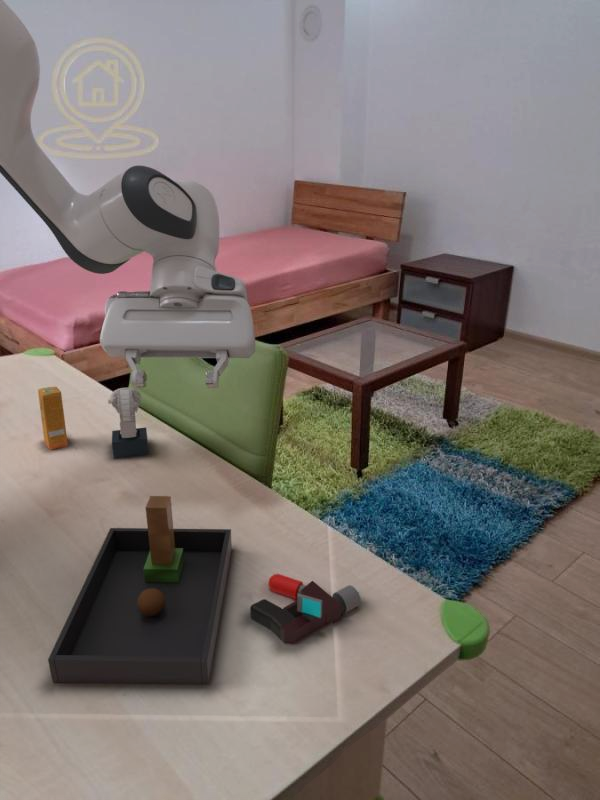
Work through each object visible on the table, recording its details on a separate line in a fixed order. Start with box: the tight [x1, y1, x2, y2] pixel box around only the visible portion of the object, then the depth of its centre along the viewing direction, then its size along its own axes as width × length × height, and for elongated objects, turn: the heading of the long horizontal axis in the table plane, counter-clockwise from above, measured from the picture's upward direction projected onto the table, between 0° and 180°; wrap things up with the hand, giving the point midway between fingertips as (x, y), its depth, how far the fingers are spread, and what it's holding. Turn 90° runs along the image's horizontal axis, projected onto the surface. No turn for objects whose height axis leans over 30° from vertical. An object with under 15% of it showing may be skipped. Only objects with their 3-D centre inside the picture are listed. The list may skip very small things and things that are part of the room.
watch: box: [107, 387, 150, 460], centre depth 103 cm, size 6×8×11 cm
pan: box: [47, 527, 233, 686], centre depth 71 cm, size 15×21×4 cm
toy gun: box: [249, 573, 361, 645], centre depth 71 cm, size 10×12×5 cm
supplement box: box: [37, 386, 69, 451], centre depth 105 cm, size 3×3×10 cm
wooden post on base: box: [143, 495, 184, 583], centre depth 75 cm, size 4×4×10 cm
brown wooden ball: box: [137, 588, 165, 617], centre depth 70 cm, size 3×3×3 cm
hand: (175, 386), depth 81 cm, fingers open, 8 cm apart
